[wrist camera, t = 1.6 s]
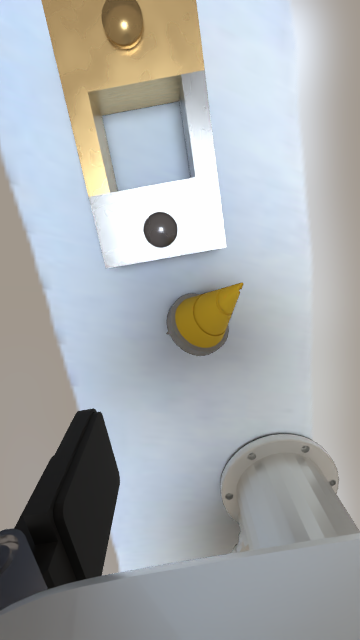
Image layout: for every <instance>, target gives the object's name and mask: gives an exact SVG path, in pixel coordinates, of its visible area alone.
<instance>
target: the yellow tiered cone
mask: <svg viewBox="0 0 360 640" xmlns="http://www.w3.org/2000/svg"><path fill="white" fill-rule="evenodd" d="M242 286H243V283H238V284H235V285H232V286H228V287H225V288H221V289H218V290H215V291H211V292H208V293H204V294H201V295H200V294H187V295H184V296H182V297H180V298H179V299H178V300H177V301H176V302H175V303H174V304H173V306H172V307H171V308H170V310H169V312H168V316H167V328H168V332H167V333H166V334H169V335H170V336H171V338H172V340H173V341H174V342H175V343H176V345H177V346H179V347H180V348H181V349H182V350H184V351H185V352H187V353H189V354H192V355H197V356H205V355H209V354H211V353H213V352H215V351H216V350H218V349H219V348H220V347H221V346H222V345H223V344H224V343H225V341H226V339H227V337H228V331H229V329H228V323H229V320H230V318H231V315H232V312H233V310H234V307H235V305H236V302H237V299H238V297H239V294H240V292H239V290H240V289H242Z"/></svg>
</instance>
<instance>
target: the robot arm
mask: <svg viewBox="0 0 360 640" xmlns="http://www.w3.org/2000/svg"><path fill="white" fill-rule="evenodd" d="M338 483H339V477H338V471H337V468H336V466H335V464H334V462H333V460H332V459H331V457H330V456H329V454H328V453H327V452H326V451H325V450H324V449H323V448H322V447H321V446H320V445H319V444H317V443H316V442H314V441H313V440H310V439H308V438H305V437H303V436H298V435H293V434H278V435H270V436H266V437H263V438H260V439H257V440H255V441H253V442H251V443H249V444H247V445H246V446H244V447H243V448H241V449H240V450H239V451H238V452H237V453H236V454H235V455H234V456H233V457H232V458H231V459H230V460H229V462H228V463H227V465H226V466H225V469H224V471H223V474H222V477H221V483H220V486H221V495H222V500H223V504H224V506H225V508H226V511H227V512H228V513H229V515H230V516H231V517H232V518H233V519H234V520H235V521H236V522H237V523H238V524H239V525H240V529H241V532H240V534H239V543H238V544H236V546H235V547H234V549H233V550H232V552H231V554H225V555H218V556H212V557H206V558H200V559H194V560H188V561H182V562H176V563H170V564H164V565H158V566H152V567H147V568H141V569H136V570H130V571H125V572H120V573H114V574H109V575H104V576H102V570H103V566H104V560H105V556H106V551H107V546H108V540H109V535H110V530H111V525H112V520H113V515H114V510H115V505H116V500H117V495H118V490H119V485H120V476H119V471H118V468H117V464H116V461H115V457H114V454H113V450H112V447H111V443H110V440H109V436H108V433H107V429H106V426H105V422H104V419H103V415H102V413H101V412H96V410H95V409H88V410H82V411H78V412H77V413H76V415H75V416H74V418H73V420H72V422H71V424H70V426H69V428H68V430H67V432H66V434H65V436H64V438H63V440H62V442H61V444H60V446H59V448H58V449H57V451H56V453H55V455H54V456H53V457H52V458H51V459H50V461H49V463H48V465H47V467H46V469H45V471H44V472H43V475H42V476H41V478H40V480H39V482H38V484H37V486H36V488H35V490H34V492H33V494H32V495H31V497H30V499H29V501H28V503H27V505H26V507H25V509H24V511H23V513H22V515H21V516H20V518H19V521H18V522H17V524H16V526H15V528H14V529H5V530H2V531H0V640H360V531H359V529H358V528H357V526H356V525H355V523H354V521H353V520H352V518H351V517H350V515H349V514H348V512H347V510H346V509H345V507H344V506H343V504H342V503H341V501H340V500H339V498H338V496H337V495H336V493H337V490H338Z"/></svg>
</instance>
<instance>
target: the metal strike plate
mask: <svg viewBox="0 0 360 640" xmlns="http://www.w3.org/2000/svg"><path fill="white" fill-rule="evenodd" d="M42 5H43V9H44V13H45V17H46V21H47V25H48V30H49V34H50V38H51V42H52V46H53V50H54V55H55V59H56V63H57V67H58V71H59V75H60V80H61V84H62V88H63V92H64V96H65V100H66V105H67V109H68V113H69V117H70V121H71V125H72V130H73V134H74V138H75V142H76V146H77V150H78V155H79V159H80V163H81V167H82V171H83V175H84V179H85V184H86V188H87V192H88V196H89V200H90V204H91V209H92V213H93V217H94V221H95V225H96V229H97V234H98V238H99V242H100V246H101V250H102V254H103V259H104V263H105V267H106V269H107V268H112V267H118V266H124V265H129V264H135V263H141V262H146V261H152V260H158V259H163V258H169V257H175V256H180V255H186V254H192V253H197V252H203V251H209V250H214V249H220V248H226V240H225V231H224V223H223V215H222V207H221V199H220V191H219V183H218V175H217V167H216V158H215V150H214V142H213V134H212V126H211V118H210V110H209V102H208V94H207V85H206V77H205V69H204V61H203V53H202V45H201V37H200V29H199V20H198V12H197V4H196V0H42ZM177 101H179V102H180V109H181V116H182V122H183V129H184V136H185V143H186V150H187V156H188V163H189V170H190V177H191V178H189V179H184V180H178V181H173V182H167V183H162V184H156V185H151V186H145V187H140V188H134V189H129V190H123V191H118V190H117V185H116V180H115V176H114V171H113V166H112V162H111V157H110V152H109V148H108V143H107V138H106V133H105V129H104V124H103V119H102V115H108V114H113V113H118V112H124V111H129V110H134V109H140V108H145V107H150V106H156V105H161V104H166V103H172V102H177Z"/></svg>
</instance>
